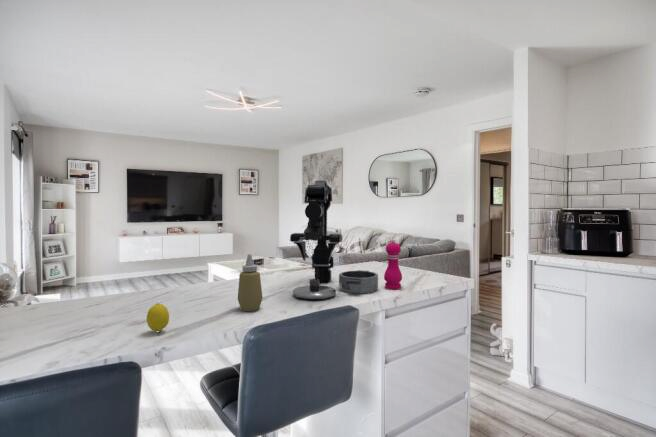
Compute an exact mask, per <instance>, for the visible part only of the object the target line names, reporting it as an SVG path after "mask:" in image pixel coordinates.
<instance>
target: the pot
mask: <svg viewBox="0 0 656 437" xmlns="http://www.w3.org/2000/svg"><path fill="white" fill-rule="evenodd" d="M338 281H339V282H338V287H339V290H340V292H343V293H345V294H354V295H365V294H368V293H369V294H372V293H373V292H374V293H376V292H378V288H379V274H378V273H377V272H374V271H370V270H364V269H363V270H360V269H357V270H346V271H342V272H340V273H339V274H338Z"/></svg>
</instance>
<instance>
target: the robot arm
mask: <svg viewBox="0 0 656 437" xmlns="http://www.w3.org/2000/svg"><path fill="white" fill-rule="evenodd" d="M332 189H333V188H332V187H331V186H329V185H328V182H327V181H326V180H316V181H314V184H307V187H306V188H305V190H304V191H305V192H304V204H307V205H306V206H305V209H304V215H305V216H306V218H307V219H308V222H307V226H306V228H305V229H304V230H303V232H293V233H291V234H290V236H289V242H293V244H295V245H296V246H297V247H298V250H300V253H301V257H302V260H303V261H306V257H307V256H306V255H307V254H306V251H307V250H306V246H307V244H306V241H314V242H315V241H317V242H316V245H315V247H314V249H313V253H312V255H311V265H312V266H311V268H312V269H314V279H319V283H323V284H328V283H330V282H331V281H332V270H331V269H333V268H334V265H335V264H334V263H335V262H334V256H333V252H334V250H335V247H336V245H338V244H340V243H342V242H343V234H341V233H329V234H328V210H329V209H330V207H331V205H332V203H331V202H333V190H332ZM328 241H329V242H328Z"/></svg>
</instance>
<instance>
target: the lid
mask: <svg viewBox="0 0 656 437" xmlns="http://www.w3.org/2000/svg"><path fill="white" fill-rule="evenodd" d="M336 294H337V291H336V288H334V287H332V286H329V285H328V286H327V285H321V284H320V282H319V279H315V278H310V279H309V285H303V286H298V287H295V288H293V289H292V295H293V296H294V297H296V298H298V299H304V300H310V301H311V300H313V301H315V300H316V301H317V300H324V299H328V298H333V297H335V296H336Z"/></svg>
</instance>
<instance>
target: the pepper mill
mask: <svg viewBox="0 0 656 437" xmlns="http://www.w3.org/2000/svg"><path fill="white" fill-rule="evenodd" d="M390 241H391V242H389V243H388V244H387V245H386V246H385V251H386V253H387V254H386V258H387V261H388V262H387V263H388V264H387V268H386V270H385V272H384V274H383V279H384V281H385V283H384V284H385V285H384V286H385V289H387V290H391V289H392V290H393V291H394V290H395V289H396V290H400V289H401V288H402V286H401V285H402V284H401V283H400V282H402V280H403V274H402V271H401V269H400V267H399V259H400V253H401V250H402V247H401V245H400V244H399V243H397V242H396V239H395V238H392V239H391V240H390ZM396 290H395V291H396Z"/></svg>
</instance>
